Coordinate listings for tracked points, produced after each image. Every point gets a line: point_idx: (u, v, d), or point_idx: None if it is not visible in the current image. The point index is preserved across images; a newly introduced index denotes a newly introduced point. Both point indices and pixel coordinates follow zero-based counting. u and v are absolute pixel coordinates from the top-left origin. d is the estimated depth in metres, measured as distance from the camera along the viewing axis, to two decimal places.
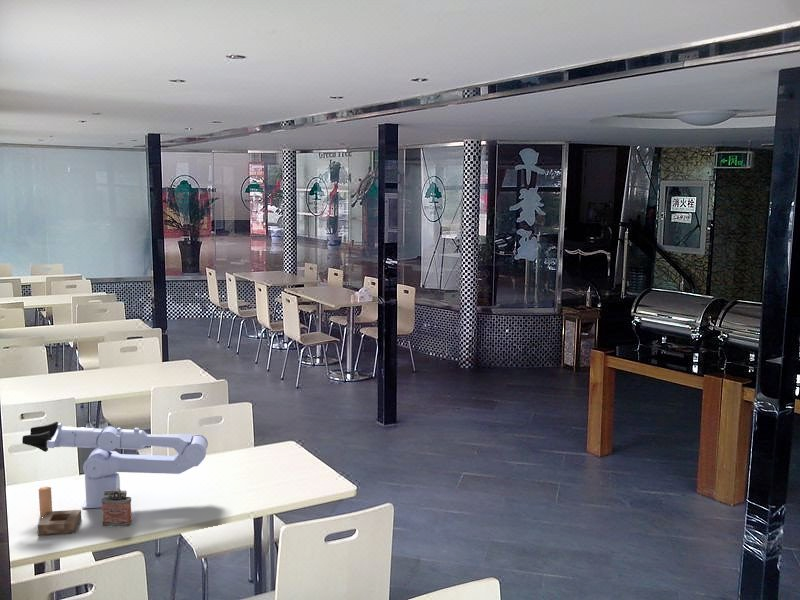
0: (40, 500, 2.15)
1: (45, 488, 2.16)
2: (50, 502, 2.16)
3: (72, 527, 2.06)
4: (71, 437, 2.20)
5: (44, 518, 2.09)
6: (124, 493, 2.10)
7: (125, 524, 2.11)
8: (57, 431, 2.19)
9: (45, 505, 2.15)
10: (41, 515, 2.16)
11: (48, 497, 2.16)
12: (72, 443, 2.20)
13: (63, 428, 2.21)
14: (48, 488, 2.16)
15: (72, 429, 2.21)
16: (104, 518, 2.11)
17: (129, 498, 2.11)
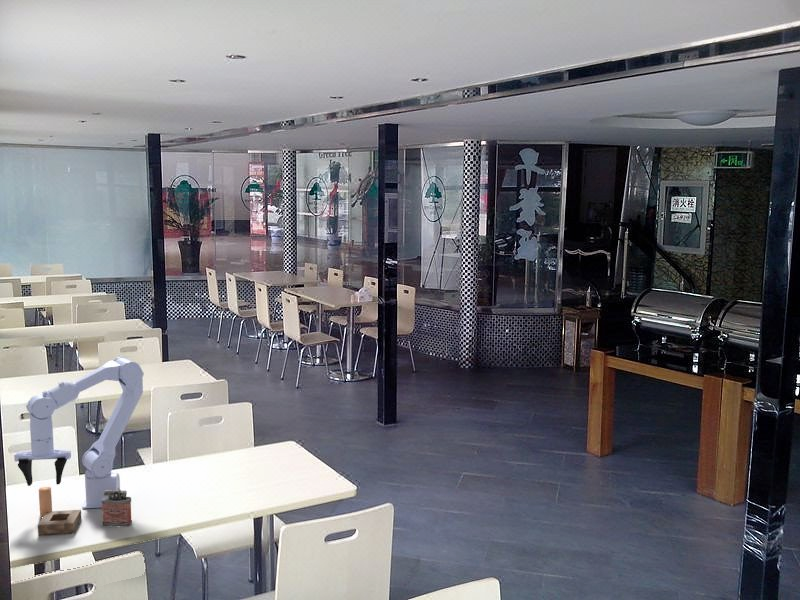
0: (40, 500, 2.15)
1: (45, 488, 2.16)
2: (50, 502, 2.16)
3: (72, 527, 2.06)
4: (51, 440, 2.14)
5: (44, 518, 2.09)
6: (124, 493, 2.10)
7: (125, 524, 2.11)
8: (49, 456, 2.13)
9: (45, 505, 2.15)
10: (41, 515, 2.16)
11: (48, 497, 2.16)
12: None
13: (42, 452, 2.12)
14: (48, 488, 2.16)
15: (43, 444, 2.12)
16: (104, 518, 2.11)
17: (129, 498, 2.11)
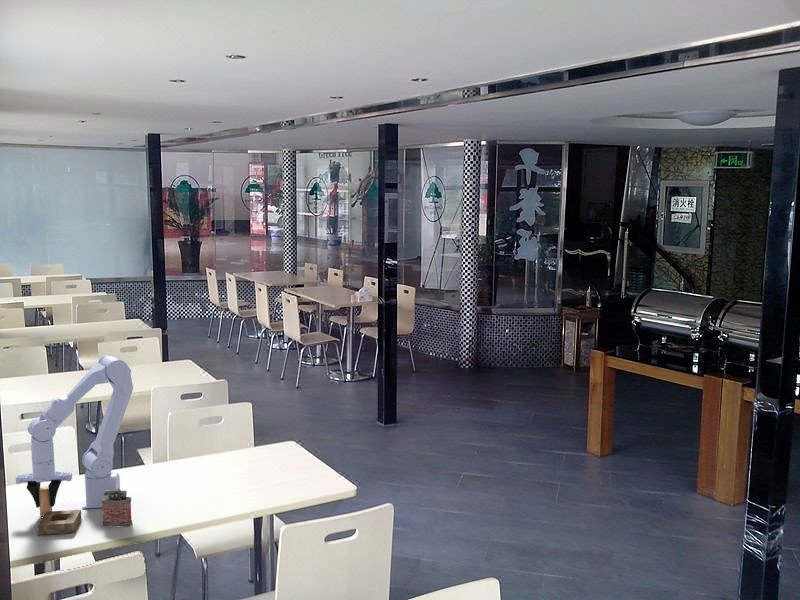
0: (40, 500, 2.15)
1: (45, 488, 2.16)
2: None
3: (72, 527, 2.06)
4: (52, 463, 2.15)
5: (44, 518, 2.09)
6: (124, 493, 2.10)
7: (125, 524, 2.11)
8: (50, 478, 2.14)
9: (45, 505, 2.15)
10: (41, 515, 2.16)
11: (48, 497, 2.16)
12: None
13: (43, 475, 2.13)
14: (48, 488, 2.16)
15: (44, 466, 2.13)
16: (104, 518, 2.11)
17: (129, 498, 2.11)
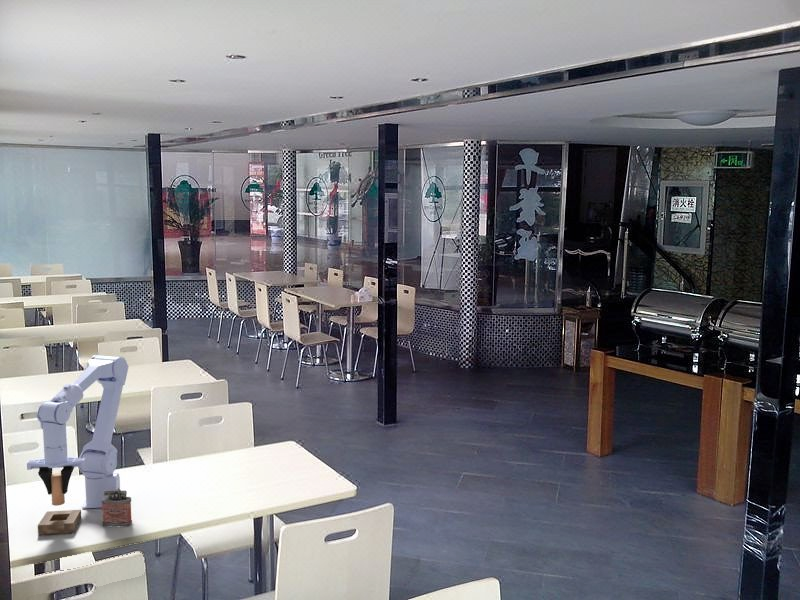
0: (52, 487, 2.07)
1: (57, 475, 2.08)
2: None
3: (72, 527, 2.06)
4: (65, 448, 2.06)
5: (44, 518, 2.09)
6: (124, 493, 2.10)
7: (125, 524, 2.11)
8: (63, 464, 2.05)
9: (58, 493, 2.07)
10: (53, 503, 2.07)
11: (61, 484, 2.07)
12: (66, 445, 2.08)
13: (55, 461, 2.05)
14: (60, 474, 2.08)
15: (56, 451, 2.04)
16: (104, 518, 2.11)
17: (129, 498, 2.11)
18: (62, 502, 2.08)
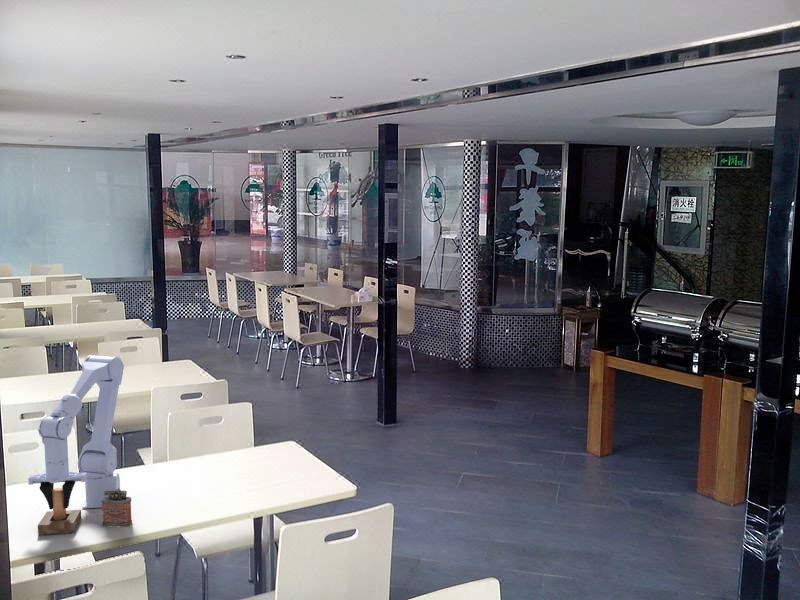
0: (54, 502, 2.07)
1: (59, 489, 2.08)
2: None
3: (72, 527, 2.06)
4: (66, 463, 2.07)
5: (44, 518, 2.09)
6: (124, 493, 2.10)
7: (125, 524, 2.11)
8: (64, 479, 2.06)
9: (59, 507, 2.07)
10: (55, 517, 2.08)
11: (62, 498, 2.08)
12: None
13: (57, 475, 2.05)
14: (62, 489, 2.08)
15: (58, 466, 2.05)
16: (104, 518, 2.11)
17: (129, 498, 2.11)
18: (63, 517, 2.08)
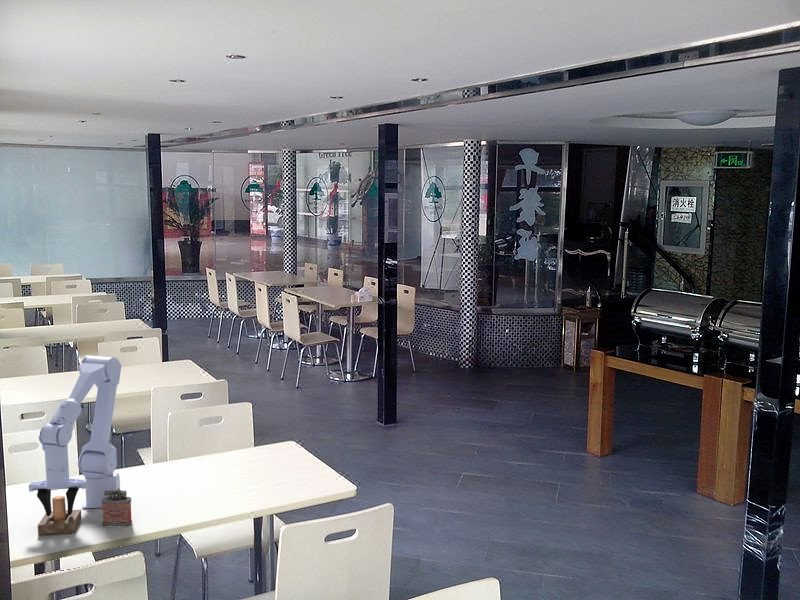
0: (54, 510, 2.07)
1: (59, 497, 2.09)
2: (64, 512, 2.09)
3: (72, 527, 2.06)
4: (67, 470, 2.07)
5: (44, 518, 2.09)
6: (124, 493, 2.10)
7: (125, 524, 2.11)
8: (65, 486, 2.06)
9: (59, 515, 2.08)
10: None
11: (62, 507, 2.08)
12: None
13: (57, 482, 2.05)
14: (62, 497, 2.09)
15: (58, 473, 2.05)
16: (104, 518, 2.11)
17: (129, 498, 2.11)
18: None
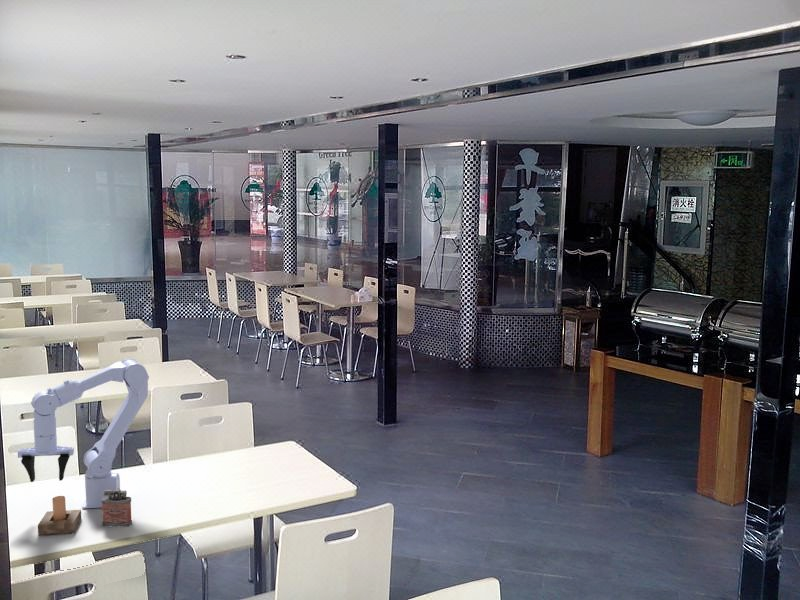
0: (54, 510, 2.07)
1: (59, 497, 2.09)
2: (64, 512, 2.09)
3: (72, 527, 2.06)
4: (54, 437, 2.16)
5: (44, 518, 2.09)
6: (124, 493, 2.10)
7: (125, 524, 2.11)
8: (53, 452, 2.15)
9: (59, 515, 2.08)
10: None
11: (63, 507, 2.08)
12: None
13: (45, 449, 2.14)
14: (62, 497, 2.09)
15: (46, 440, 2.14)
16: (104, 518, 2.11)
17: (129, 498, 2.11)
18: None
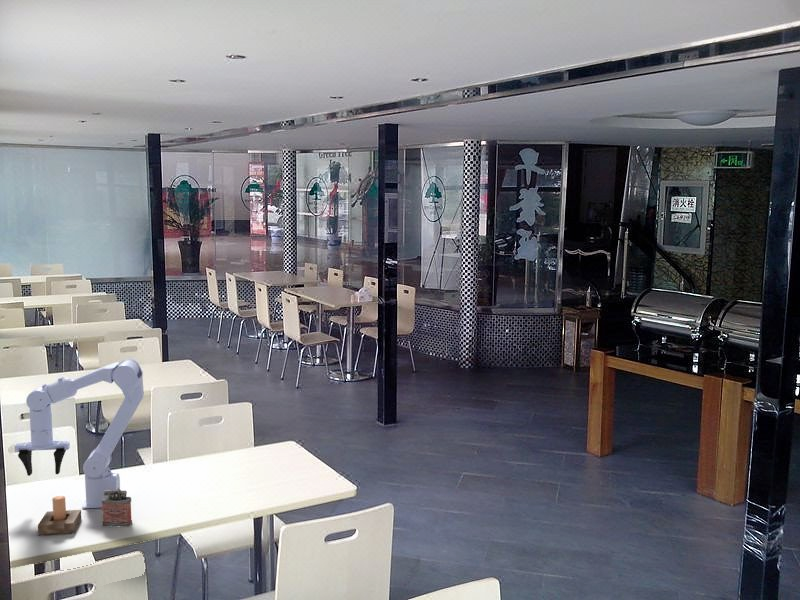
0: (54, 510, 2.07)
1: (59, 497, 2.09)
2: (64, 512, 2.09)
3: (72, 527, 2.06)
4: (50, 432, 2.20)
5: (44, 518, 2.09)
6: (124, 493, 2.10)
7: (125, 524, 2.11)
8: (48, 446, 2.19)
9: (60, 515, 2.08)
10: None
11: (63, 507, 2.08)
12: None
13: (41, 443, 2.18)
14: (62, 497, 2.09)
15: (42, 434, 2.18)
16: (104, 518, 2.11)
17: (129, 498, 2.11)
18: None
